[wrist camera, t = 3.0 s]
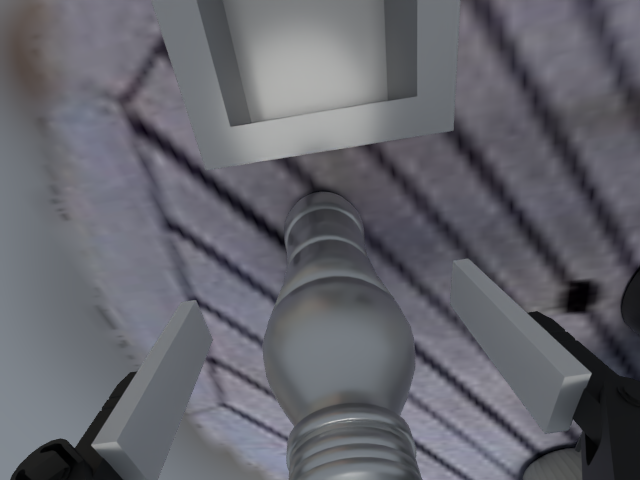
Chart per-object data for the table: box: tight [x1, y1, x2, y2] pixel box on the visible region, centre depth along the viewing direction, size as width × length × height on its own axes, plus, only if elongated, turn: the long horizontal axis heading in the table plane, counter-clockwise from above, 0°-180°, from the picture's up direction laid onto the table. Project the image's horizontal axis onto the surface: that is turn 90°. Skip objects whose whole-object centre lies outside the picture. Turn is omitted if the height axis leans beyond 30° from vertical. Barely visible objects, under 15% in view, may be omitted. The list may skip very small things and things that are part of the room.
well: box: [151, 0, 460, 170], centre depth 16 cm, size 14×14×7 cm
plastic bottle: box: [262, 192, 422, 480], centre depth 16 cm, size 6×7×20 cm
